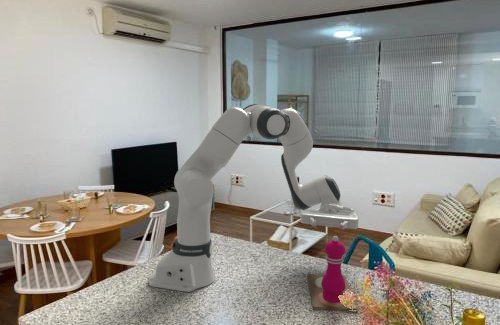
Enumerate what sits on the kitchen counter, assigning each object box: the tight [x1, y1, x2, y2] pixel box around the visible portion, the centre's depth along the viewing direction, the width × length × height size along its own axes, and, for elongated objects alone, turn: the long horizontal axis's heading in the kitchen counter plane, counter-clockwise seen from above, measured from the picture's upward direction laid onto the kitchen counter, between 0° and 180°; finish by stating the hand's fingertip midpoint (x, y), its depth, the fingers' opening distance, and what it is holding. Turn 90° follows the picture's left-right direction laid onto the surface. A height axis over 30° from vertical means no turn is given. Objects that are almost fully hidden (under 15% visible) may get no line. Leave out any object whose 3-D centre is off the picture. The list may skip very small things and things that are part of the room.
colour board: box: [306, 273, 358, 312], centre depth 121 cm, size 13×22×1 cm, turn 175°
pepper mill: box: [321, 235, 346, 303], centre depth 113 cm, size 7×7×20 cm
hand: (327, 225), depth 127 cm, fingers open, 8 cm apart
